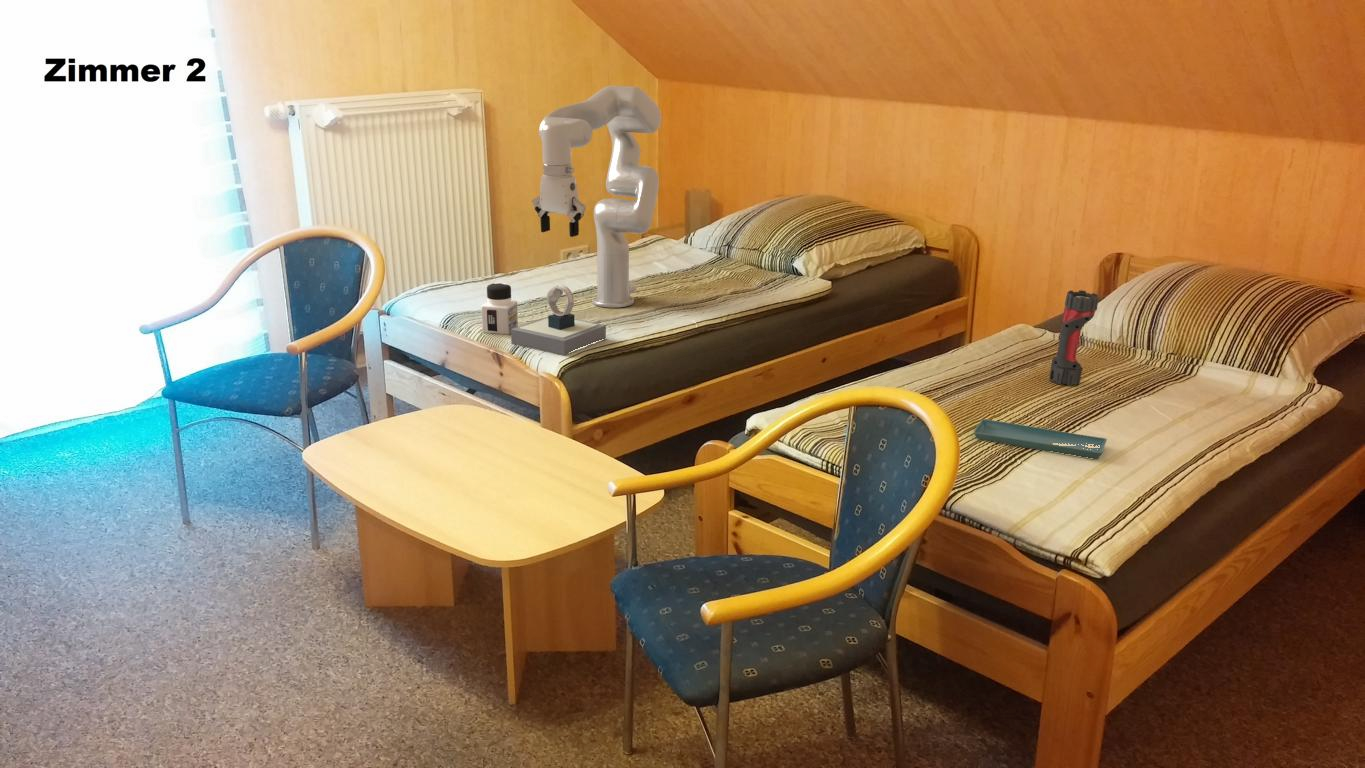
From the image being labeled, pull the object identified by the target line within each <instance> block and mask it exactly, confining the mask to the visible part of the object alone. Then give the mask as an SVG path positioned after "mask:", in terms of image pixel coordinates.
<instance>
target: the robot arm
mask: <svg viewBox="0 0 1365 768" xmlns="http://www.w3.org/2000/svg"><path fill="white" fill-rule="evenodd" d="M661 124H662V113H661V110H660V108H659V106H658V105H657V104H656V102H655V101H654V100H653V99H652V98H651V97H650V96H649V95H648V94H647V93H646V92H645V91H644V90H643V89H641V88H640V87H637V86H626V85H622V86H621V85H608V86H605V87H602V88H601V89H599V90H598V91H597V92H596V93H594V94H592V96H590V97H588V98H587V99H586V100H584V101H579V102H576V103H572V104H568V105H566V106H562V107H559V108H557V109H554V110H553V111H551V112H549V114H547V115H546V116H545V117H544V118H543V119H542V120H541V122H540V124H539V127H538V135H539V138H540V140H541V145H542V148H541V149H542V169H543V171H542V172H543V174H542V175H541V179H540V187H539V196H537V197H535V198H533V199H532V200H531V202H532V204H533V207H534V211H535V212H536V213H537V216H538V218H539V219H540V220H539V221H540V232H541V233H546V232H549V231H551V219H550V215H549V214H550V213H551V214H552V213H553V214H557V215H558V214H559V215H566V216H567V218H569V220H570V221H569V224H568V225H569V226H568V227H569V229H568V230H569V237H571V238H574V237H577V236H579V232H580V227H579V226H580V225H579V224H580V223H579V222H580V221H581V219H582V218H583V217H584V215H585V212H586V210H587V206H586V205H585V204H583V202H581V201H580V200H579V199H580V198H579V191H578V185H577V180H576V176H575V175H573V174H574V173H575V171H576V170H575V167H573V166H572V165H573V164H572V163H573V162H572V149H576V148H577V149H578V148H584V147H585V146H587V145H589V144H590V142H591V141H592V138H593V131H595V130H599V129H601V128H603V127H605V126H606V127H607V129H608V132H609V133H608V134H609V135H610V138H611V139H610V140H611V144H612V146H611V147H612V150H611V156H610V160H609V164H608V170H607V175H606V180H605V188H606V189H605V190H606V191H607V193H609V194H611V195H612V196H615V197H616V196H617V197H625V198H635V199H636V200H631V199H622V198H610V197H609V198H603V199H600V200H599V201H598V202H596V204H595V205H594V208H593V221H594V226H595V232H596V233H595V234H596V247H597V248H596V258H597V259H596V261H597V262H596V263H597V264H596V265H597V266H596V267H597V274H596V275H597V278H596V279H597V280H596V281H597V283H596V285H597V289H596V290H597V295H595V296H594V297H593V298H592V299H591V300H592V302H591V303H592V304H593V305H595V306H597V307H600V308H601V307H602V308H609V309H611V308H625V307H628V306H632V305H633V304H634V303H635V299H634V298H633V296H631V293H633V292H637V286H636V285H635V284H633V285H630V264H629V263H630V245H629V242H628V239H627V238H626V236H625V234H624V233H627V234H637V235H641V234H646V233H647V232H648V231H649V230H650V228H651V225H652V221H653V217H654V211H655V208H656V203H657V199H658V194H659V189H660V178H659V173H658V172H657V170H656V169H655V168H653V167H651V166H648V165H639V164H640V158H641V152H642V151H641V147H640V145H639V143H638V141H637V139H636V138H635V136H634V135H633V133H635V134H654V133H656V132H657V131H659V129H660V127H661Z"/></svg>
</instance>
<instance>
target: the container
mask: <svg viewBox="0 0 1365 768" xmlns="http://www.w3.org/2000/svg"><path fill="white" fill-rule="evenodd" d="M511 287H512V286H511V285H510V284H508V283H505V282H494V283H490V284H488V285H487V287H486V301H487V302H485V303H483V304H481V325H482V326H481V327H482V333H484V334H485V333H487V334H497V335H511V329H513V328H516V327H519V321H518V320H519V319H518V317H519V315H518V313H519V312H518V301H517V300H514V299H513V300H512V288H511Z"/></svg>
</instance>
